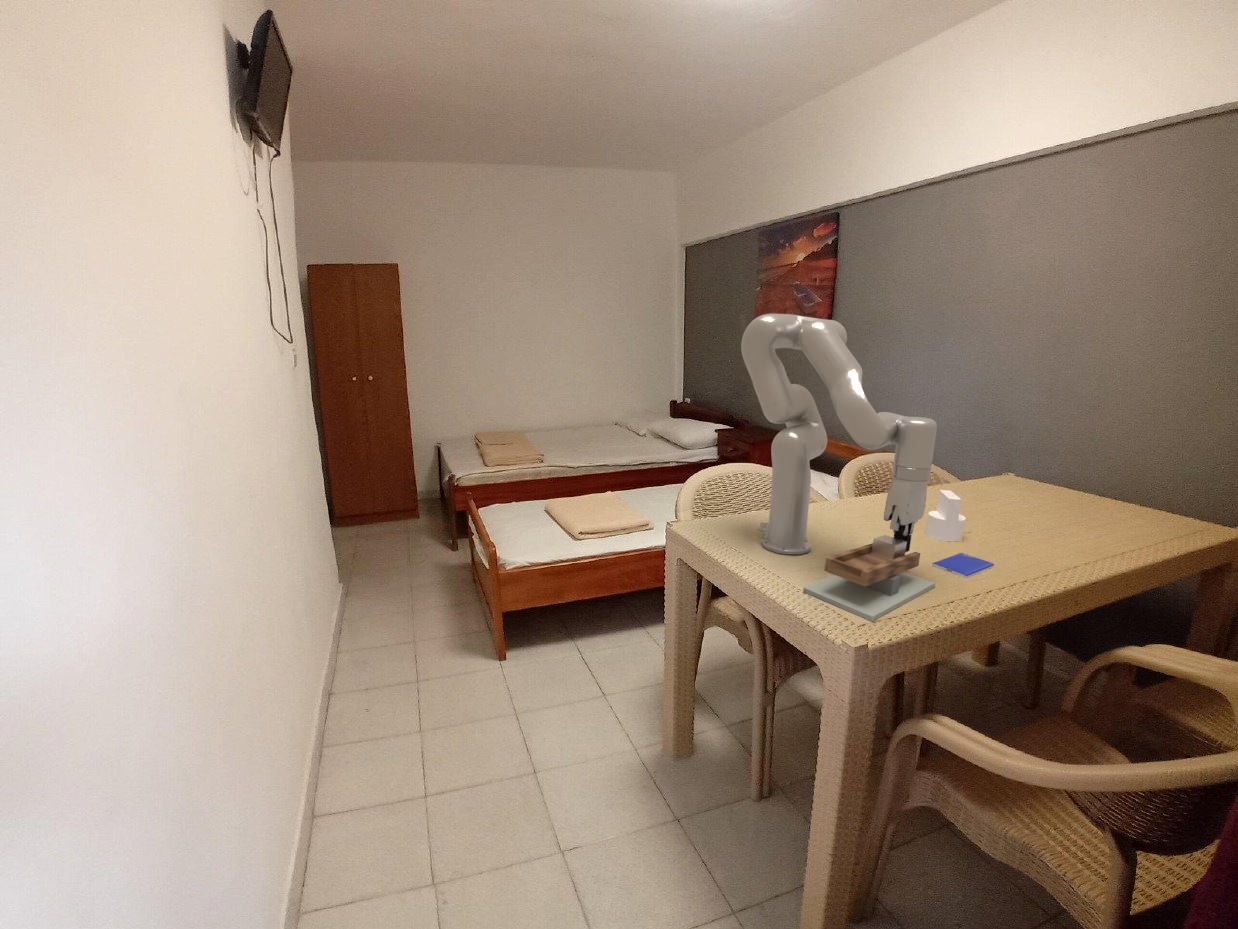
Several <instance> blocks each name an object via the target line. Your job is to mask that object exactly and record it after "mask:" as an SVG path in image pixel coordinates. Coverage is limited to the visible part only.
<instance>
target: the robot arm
mask: <svg viewBox="0 0 1238 929" xmlns="http://www.w3.org/2000/svg"><path fill="white" fill-rule="evenodd" d="M847 341H848V334H847V330H846V328H845V327H844V326H843V325H842V323H840V322H838V321H837V320H833V319H824V318H817V317H812V316H811V317H810V316H805V315H804V316H803V315H797V314H791V313H790V314H789V313H764V314H761V315H759V316H757V317H756V318H754V319H752V321H751V322H749V324H748V325H747V326H746V327H745V329H744V331H743V335H742V339H741V343H740V346H741V347H740V349H741V355H742V359H743V362H744V364H745V365H744V366H745V367H746V369H747V372H748V374H749V376H750V379H751V381H752V384H753V385H752V386H753V388H754V390H755V394H756V396H757V399H758V401H759V405H760V407H761V411H762V413H763V415H764V417H765V418H766V420H767V421H769V423H771V424H776V425H777V424H778V425H781V424H785V426H786V428H783V429H782V430H780V431H779V432H778V433H777V434H776V435H775V436H774V438H773V439H772V442H771V447H770V448H771V449H770V452H771V454H770V455H771V464H772V465H771V467H772V469H771V470H772V473H771V488H770V490H771V491H770V501H769V502H770V503H769V504H770V506H769V515H768V516H769V517H768V522H765V521H760V522H759V525H758V527H757V531H758V532H762V533H764V535H763V537H762V538H761V542H760V543H761V546H762V547H763V548H765V549H767V550H768V551H770V552H773V553H777V554H782V555H791V556H793V555H794V556H796V555H804V554H806V553H809V552H810V551H811V550H812V543H811V542H810V540H808V539H806V537H807V529H808V527H807V526H808V516H809V506H810V497H811V496H810V495H811V484H812V482H811V481H812V475H811V473H812V472H811V466H810V465H811V464H810V463H811V462H810V461H811V460H813V459H815V458H817V457H819V456H821V455H822V454H823V453H824V452H825V450H826V448H827V446H828V434H827V432H826V428H825V426H824V422H823V420H822V417H821V415H820V412H819V410H818V407H817V404H816V401H815V399H814V397H813V395H812V394H811V392H810V391H809V390H808V389H807V388H806V387H805V386H803V385H801V384H798V383H797V384H796V383H791V382H790V379H789V376H787V372H786V369H785V366H784V365H783V362H782V361H781V359H780V358H779V357H778V355H777V353H776V349H793V350H799V351H802V352H803V354H804V355H805V357H806V358H807V359H808V361H809V363H810V364H811V365H812V366H813V368H814V370H815V371H816V373H817V374H818V376H819V377H820V378H821V380H822V381H823V383H824V385H825V386H826V387H827V389H828V391H829V396H830V399H831V402H832V405H833V408H834V411H835V414H836V415H837V417H838V419H839V421H840V422H841V425H843V427H844V428H845V430H846V431H847V433H848V435H849V436H850V437H851V438H852V440H853V441H854V442H855V443H856V444H857V445H858V446H859V447H862V448H863V449H865V450H869V451H874V450H879V449H881V448H883V447H886V446H889V445H890V446H891V445H895V450H894V458H893V465H892V475H891V478H892V479H891V481H890V483H889V488H888V492H887V495H886V501H885V505H884V512H883V520H884V521H886V522H889V521H890V525H889V529H890V530H892V532H893V538H897V539H900V540H903V541H907V544H906V550H905V553H907V552H909V551H910V548H911V542H912V535H913V533H914V528H915V524H917V522H918V521H919V520H921V519H922V518H923V517H924V515H925V510H926V503H927V494H928V493H927V491H928V483H930V479H931V471H932V466H933V465H932V464H933V458H934V451H935V450H934V449H935V443H936V438H937V431H938V430H937V428H938V424H937V422H936V421H935V420H934V419H932V418H928V417H923V416H906V415H901V414H897V413H893V412H890V411H879V412H876V410H875V409H874V407H873V406H872V404H871V403H870V402H869V399H868V398H867V396H866V394H865V392H864V388H863V369H862V366H861V365H860V362H858V360H857V358H856V357H855V356H854V355H853V354H852V352H851V351H850V349H849V348H848V346H847V345H846V344H847Z"/></svg>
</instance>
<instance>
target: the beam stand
mask: <svg viewBox="0 0 1238 929" xmlns="http://www.w3.org/2000/svg"><path fill="white" fill-rule="evenodd" d="M935 587H936V582H935V581H931V580H929V579H926V578H922V577H919V576H916V575H914V574H911V573H908V572H906V571H904V572H902V573H899V574H896V575H894V576H891V577H889V578H886V579H884V580H881V581H878V582H876V583H873V584H871V585H868V586H862V585H860V584H857V583H855V582H852V581H849V580H847V579H844V578H842V577H839V576H836V575H834V574H832V575H829V576H828V577H824V578H822V579H821V580H819V581H815V582H813V583H811V584H808V585H806V586H804V587H803V590H802V592H803V593H804V594H808V595H810V596H812V597H813V598H816V599H819V600H822V601H824V602H825V603H826V602H827V603H828V604H831V605H833V606H836V607H837V608H839V609H843V610H845V611H847V612H850V613H851V614H854V615H855V616H856V615H857V616H859V617H861V618H862V619H865V620H868V621H870V622H873V621H875V620H877V619H879V618H881V617H883V616H884V615H886V614H888V613H890V612H892V611H893V610H895V609H897V608H899V607H901V606H903V605H905V604H907V603H909V602H910V601H912V600H914V599H916V598H918V597H919V596H921V595H923V594H924V593H927V592H928V591H930V590H932V589H934V588H935Z"/></svg>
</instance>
